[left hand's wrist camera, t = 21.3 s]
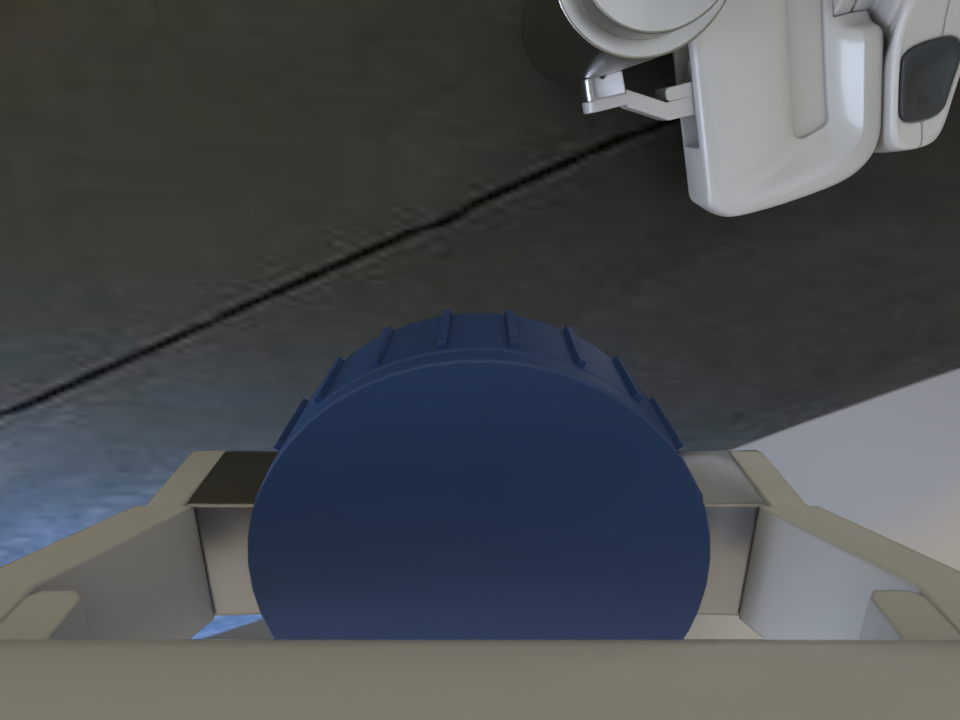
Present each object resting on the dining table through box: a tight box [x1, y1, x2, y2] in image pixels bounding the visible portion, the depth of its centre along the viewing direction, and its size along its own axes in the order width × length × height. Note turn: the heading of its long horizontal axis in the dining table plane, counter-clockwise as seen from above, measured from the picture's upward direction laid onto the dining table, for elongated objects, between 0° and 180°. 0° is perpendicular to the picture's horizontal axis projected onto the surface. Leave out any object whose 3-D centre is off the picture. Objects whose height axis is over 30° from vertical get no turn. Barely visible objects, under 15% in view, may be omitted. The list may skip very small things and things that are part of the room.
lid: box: [248, 309, 710, 640], centre depth 9 cm, size 6×6×2 cm
